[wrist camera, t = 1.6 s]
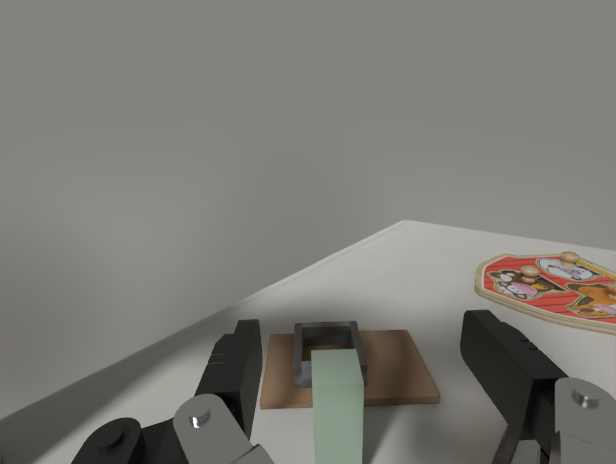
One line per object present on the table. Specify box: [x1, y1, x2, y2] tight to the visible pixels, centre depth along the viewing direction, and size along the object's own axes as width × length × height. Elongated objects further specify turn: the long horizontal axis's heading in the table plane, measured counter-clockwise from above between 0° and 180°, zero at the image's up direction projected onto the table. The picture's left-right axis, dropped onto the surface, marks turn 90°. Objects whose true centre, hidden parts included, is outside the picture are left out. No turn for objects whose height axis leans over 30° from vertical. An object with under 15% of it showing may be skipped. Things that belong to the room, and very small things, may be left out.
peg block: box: [311, 349, 364, 464], centre depth 28 cm, size 4×4×11 cm
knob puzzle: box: [475, 252, 616, 336], centre depth 57 cm, size 29×30×4 cm
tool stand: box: [260, 321, 440, 409], centre depth 40 cm, size 20×12×4 cm, turn 90°
